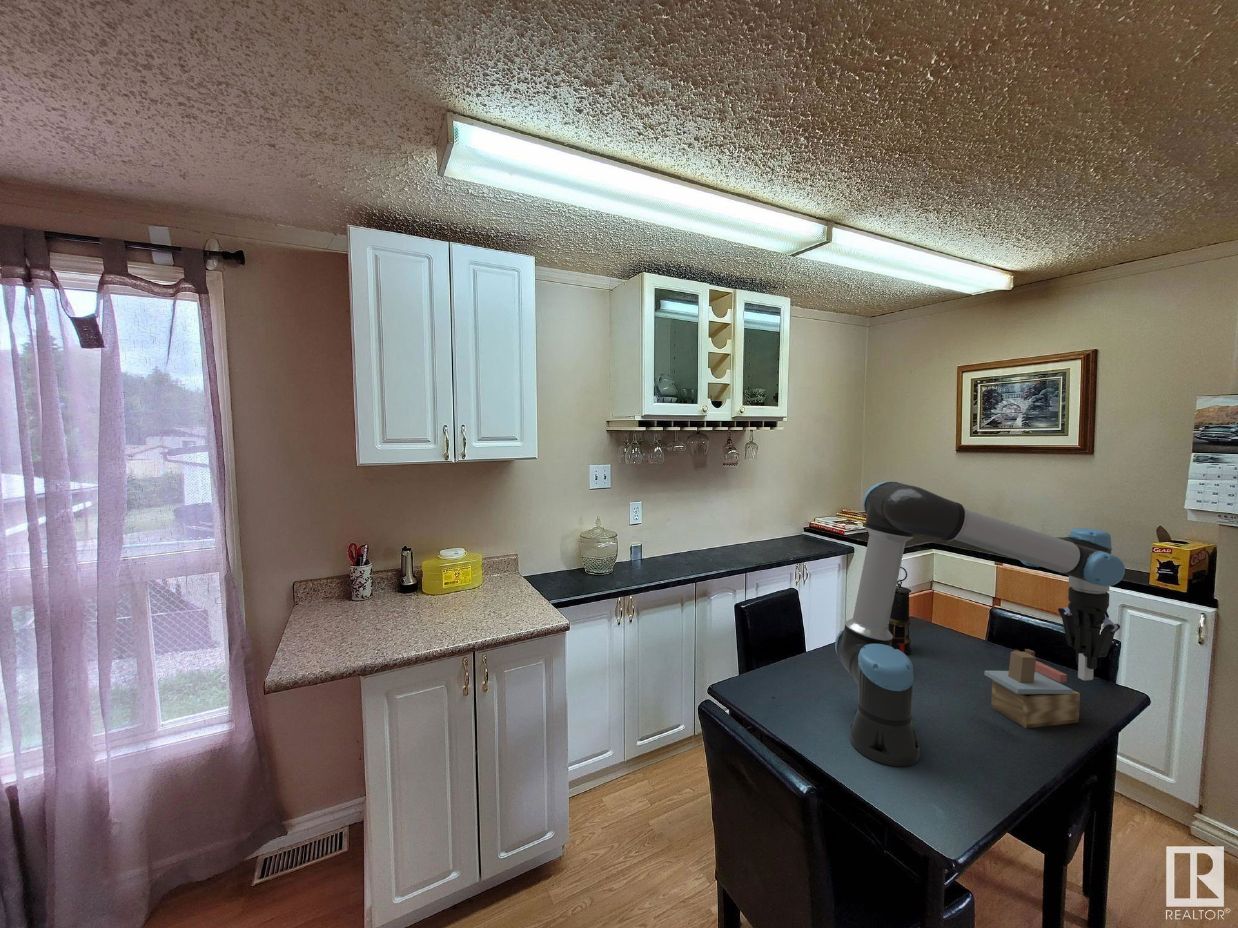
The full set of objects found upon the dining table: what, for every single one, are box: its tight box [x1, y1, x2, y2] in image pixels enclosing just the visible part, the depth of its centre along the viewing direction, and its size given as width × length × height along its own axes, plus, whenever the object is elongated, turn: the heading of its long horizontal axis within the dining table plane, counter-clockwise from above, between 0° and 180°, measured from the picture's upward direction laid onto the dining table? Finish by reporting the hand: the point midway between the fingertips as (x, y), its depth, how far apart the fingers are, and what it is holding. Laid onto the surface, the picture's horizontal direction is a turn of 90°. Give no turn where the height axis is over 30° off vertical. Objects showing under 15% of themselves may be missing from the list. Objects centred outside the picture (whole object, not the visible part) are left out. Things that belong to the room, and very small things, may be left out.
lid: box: [983, 651, 1073, 695], centre depth 130 cm, size 16×10×9 cm, turn 96°
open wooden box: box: [990, 679, 1081, 729], centre depth 131 cm, size 16×10×8 cm, turn 98°
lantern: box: [888, 566, 912, 656], centre depth 171 cm, size 9×9×30 cm
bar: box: [1035, 660, 1068, 683], centre depth 136 cm, size 2×13×2 cm, turn 8°
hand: (1085, 678), depth 124 cm, fingers closed
